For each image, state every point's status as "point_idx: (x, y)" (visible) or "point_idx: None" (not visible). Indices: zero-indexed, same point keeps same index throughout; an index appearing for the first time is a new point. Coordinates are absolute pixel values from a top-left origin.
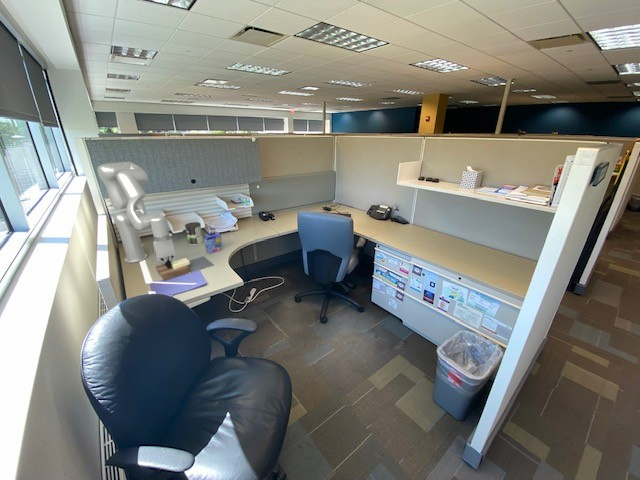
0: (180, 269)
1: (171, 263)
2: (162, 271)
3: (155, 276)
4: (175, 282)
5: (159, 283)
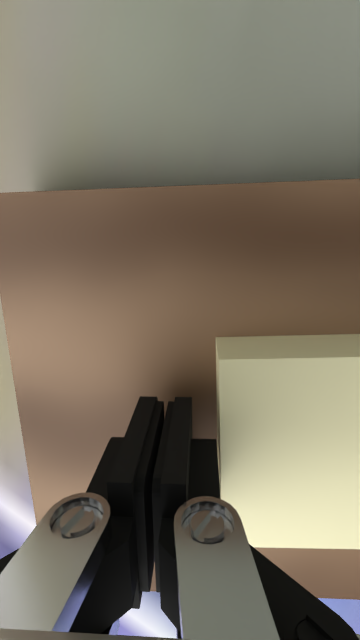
0: (289, 566)
1: (231, 430)
2: (61, 462)
3: (3, 360)
4: (161, 619)
5: (24, 541)
